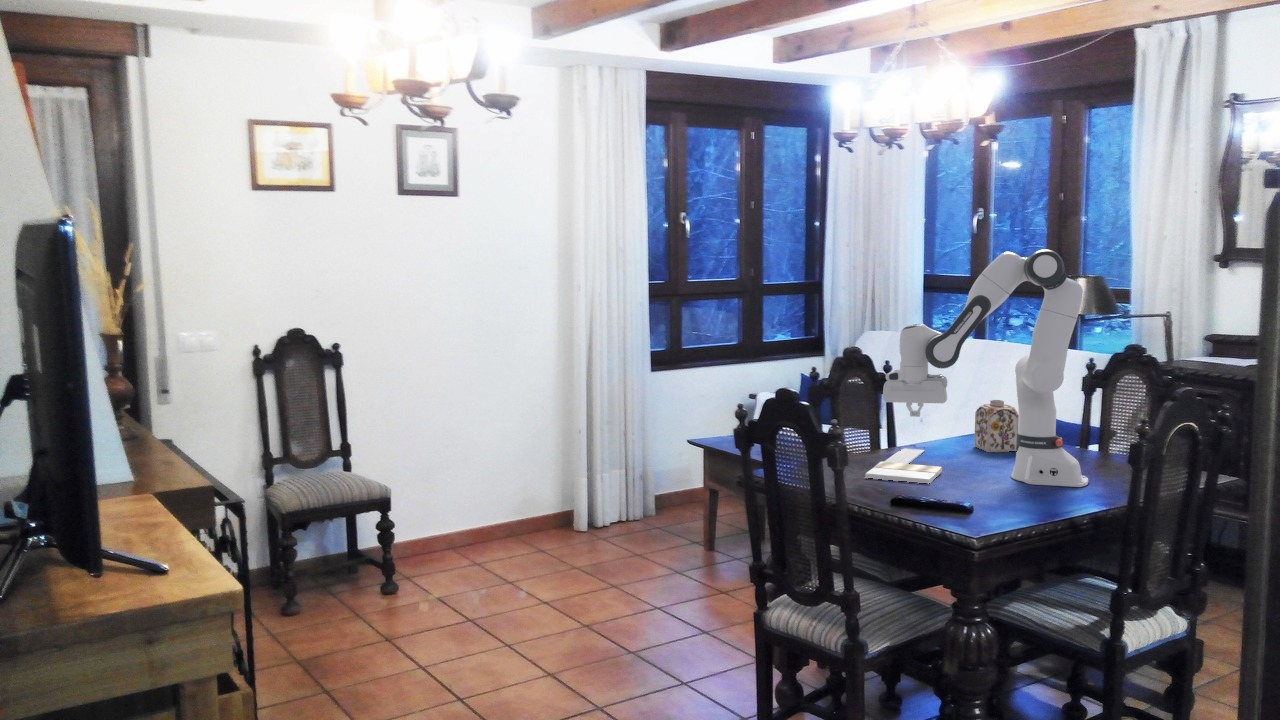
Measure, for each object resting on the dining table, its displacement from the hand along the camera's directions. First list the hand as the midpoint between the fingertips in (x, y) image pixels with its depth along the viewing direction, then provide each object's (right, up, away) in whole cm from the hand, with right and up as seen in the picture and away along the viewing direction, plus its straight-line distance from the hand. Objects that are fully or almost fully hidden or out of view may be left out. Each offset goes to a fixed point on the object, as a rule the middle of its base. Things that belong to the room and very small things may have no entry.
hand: (915, 416), depth 336 cm
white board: (-7, -19, -8) cm, 22 cm away
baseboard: (+1, -17, +23) cm, 28 cm away
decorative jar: (+39, -14, +38) cm, 57 cm away
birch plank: (-2, -18, 0) cm, 18 cm away
